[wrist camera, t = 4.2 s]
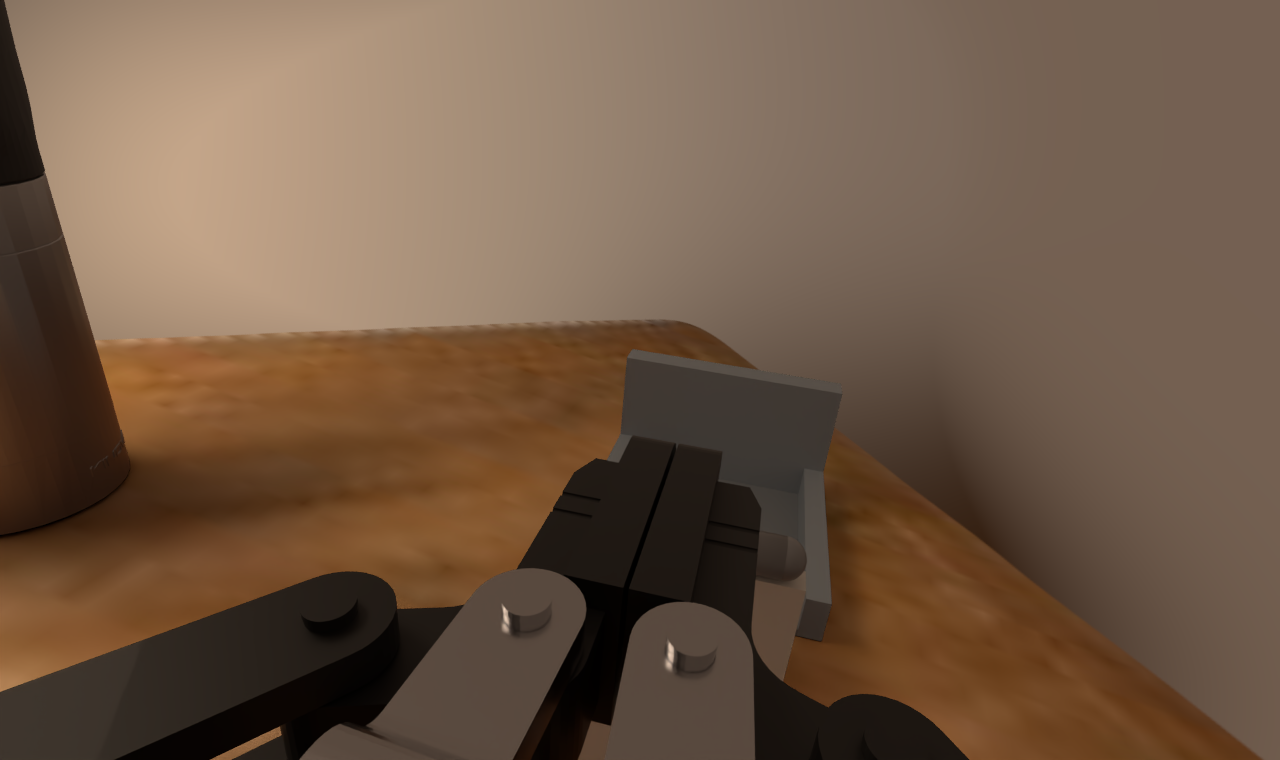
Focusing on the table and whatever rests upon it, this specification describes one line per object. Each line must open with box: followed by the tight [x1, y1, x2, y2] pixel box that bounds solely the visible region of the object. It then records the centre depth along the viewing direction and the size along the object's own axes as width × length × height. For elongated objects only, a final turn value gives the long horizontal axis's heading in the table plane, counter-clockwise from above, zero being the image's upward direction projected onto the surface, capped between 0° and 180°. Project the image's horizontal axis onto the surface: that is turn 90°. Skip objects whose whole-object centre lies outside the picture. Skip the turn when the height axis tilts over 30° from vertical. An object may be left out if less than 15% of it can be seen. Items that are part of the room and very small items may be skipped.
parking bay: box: [607, 349, 842, 641], centre depth 37 cm, size 13×14×8 cm
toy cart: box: [578, 530, 807, 760], centre depth 24 cm, size 7×10×13 cm
